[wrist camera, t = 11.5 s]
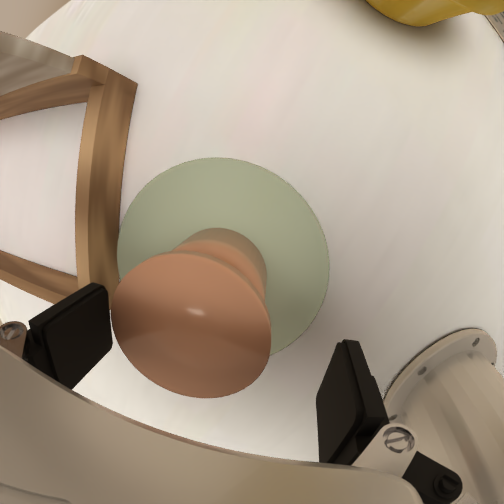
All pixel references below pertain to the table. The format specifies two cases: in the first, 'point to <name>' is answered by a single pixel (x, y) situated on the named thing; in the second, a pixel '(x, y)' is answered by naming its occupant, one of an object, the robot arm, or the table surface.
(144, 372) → the clay pot
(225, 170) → the pale green disc
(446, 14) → the plant pot
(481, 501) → the robot arm
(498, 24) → the container
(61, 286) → the wooden drawer
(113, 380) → the table surface
